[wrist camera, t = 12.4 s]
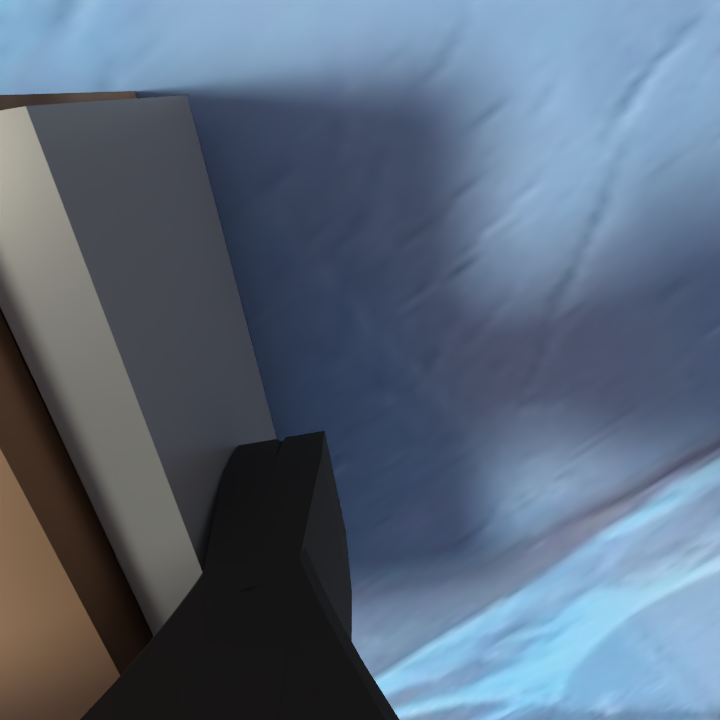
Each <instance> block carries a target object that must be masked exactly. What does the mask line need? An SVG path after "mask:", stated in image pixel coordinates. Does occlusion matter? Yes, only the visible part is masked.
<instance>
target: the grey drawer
mask: <svg viewBox="0 0 720 720" xmlns="http://www.w3.org/2000/svg"><path fill="white" fill-rule="evenodd" d="M0 312H1V314H2V316H3V318H4V321H5V323H6V325H7V327H8V329H9V331H10V333H11V336H12V338H13V340H14V342H15V344H16V346H17V348H18V351H19V353H20V355H21V357H22V359H23V361H24V363H25V366H26V368H27V370H28V372H29V374H30V376H32V377H33V378H34V380H35V383H36V385H37V387H38V389H39V391H40V393H41V395H42V398H43V400H44V402H45V404H46V406H47V408H48V411H49V413H50V415H51V417H52V419H53V421H54V423H55V426H56V428H57V430H58V432H59V434H60V436H61V438H62V441H63V443H64V445H65V447H66V449H67V451H68V454H69V456H70V458H71V460H72V462H73V464H74V466H75V469H76V471H77V473H78V475H79V477H80V479H81V481H82V484H83V486H84V488H85V490H86V492H87V494H88V497H89V499H90V501H91V503H92V505H93V507H94V509H95V512H96V514H97V516H98V518H99V520H100V522H101V524H102V527H103V529H104V531H105V533H106V535H107V537H108V540H109V542H110V544H111V546H112V548H113V550H114V552H115V555H116V560H117V563H118V565H119V567H120V569H121V571H122V573H123V575H124V578H125V580H126V582H127V584H128V586H129V588H130V590H131V593H132V595H133V597H134V599H135V601H136V603H137V605H138V608H139V610H140V612H141V614H142V616H143V618H144V620H145V623H146V625H147V627H148V629H149V631H150V633H151V635H152V638H153V637H154V636H155V635H156V633H157V632H158V631H159V630H160V629H161V627H162V626H163V625H164V624H165V622H166V621H167V620H168V619H169V617H170V616H171V615H172V613H173V612H174V611H175V610H176V608H177V607H178V606H179V604H180V603H181V602H182V600H183V599H184V598H185V596H186V595H187V594H188V592H189V591H190V590H191V588H192V587H193V586H194V584H195V583H196V581H197V580H198V578H199V577H200V575H201V574H202V573H203V571H204V566H205V561H206V556H207V551H208V546H209V541H210V536H211V531H212V525H213V520H214V515H215V510H216V505H217V500H218V495H219V490H220V486H221V481H222V477H223V472H224V470H225V468H226V466H227V464H228V461H229V459H230V457H231V456H232V454H233V452H234V451H235V449H236V448H237V446H238V445H244V444H250V443H256V442H262V441H268V440H273V439H277V438H276V434H275V430H274V426H273V422H272V418H271V415H270V411H269V407H268V403H267V399H266V395H265V392H264V388H263V384H262V380H261V376H260V372H259V369H258V365H257V361H256V357H255V353H254V349H253V346H252V342H251V338H250V334H249V330H248V326H247V323H246V319H245V315H244V311H243V307H242V303H241V300H240V296H239V292H238V288H237V284H236V280H235V277H234V273H233V269H232V265H231V261H230V258H229V254H228V250H227V246H226V242H225V238H224V235H223V231H222V227H221V223H220V219H219V215H218V212H217V208H216V204H215V200H214V196H213V192H212V189H211V185H210V181H209V177H208V173H207V169H206V166H205V162H204V158H203V154H202V150H201V146H200V143H199V139H198V135H197V131H196V127H195V123H194V120H193V116H192V112H191V108H190V104H189V100H188V97H187V95H176V96H162V97H148V98H134V99H120V100H106V101H92V102H77V103H63V104H49V105H35V106H24V107H18V108H12V109H6V110H0Z"/></svg>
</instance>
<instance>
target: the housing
mask: <svg viewBox="0 0 720 720" xmlns="http://www.w3.org/2000/svg"><path fill="white" fill-rule="evenodd" d="M134 98H137V97H136V94H135V91H127V92H94V93H61V94H28V95H0V110H6V109H12V108H18V107H24V106H35V105H49V104H63V103H77V102H92V101H106V100H120V99H134ZM151 640H152V635H151V633H150V631H149V629H148V627H147V625H146V623H145V620H144V618H143V616H142V614H141V612H140V610H139V608H138V605H137V603H136V601H135V599H134V597H133V595H132V593H131V590H130V588H129V586H128V584H127V582H126V580H125V578H124V575H123V573H122V571H121V569H120V567H119V565H118V563H117V560H116V558H115V556H114V554H113V552H112V550H111V548H110V545H109V543H108V541H107V539H106V537H105V535H104V533H103V530H102V528H101V526H100V524H99V522H98V520H97V518H96V515H95V513H94V511H93V509H92V507H91V505H90V503H89V500H88V498H87V496H86V494H85V492H84V490H83V488H82V485H81V483H80V481H79V479H78V477H77V475H76V473H75V471H74V468H73V466H72V464H71V462H70V460H69V458H68V456H67V453H66V451H65V449H64V447H63V445H62V443H61V441H60V438H59V436H58V434H57V432H56V430H55V428H54V426H53V423H52V421H51V419H50V417H49V415H48V413H47V411H46V408H45V406H44V404H43V402H42V400H41V398H40V396H39V393H38V391H37V389H36V387H35V385H34V383H33V381H32V378H31V376H30V374H29V372H28V370H27V368H26V366H25V363H24V361H23V359H22V357H21V355H20V353H19V351H18V348H17V346H16V344H15V342H14V340H13V338H12V336H11V333H10V331H9V329H8V327H7V325H6V323H5V321H4V318H3V316H2V314H1V312H0V720H80V719H81V718H82V717H83V716H84V715H85V714H86V713H87V712H88V710H89V709H90V708H91V707H92V706H93V705H94V704H95V703H96V702H97V701H98V700H99V699H100V698H101V697H102V695H103V694H104V693H105V692H106V691H107V690H108V689H109V688H110V687H111V686H112V685H113V684H114V683H115V681H116V680H117V679H118V678H119V677H120V676H121V675H122V674H123V672H124V671H125V670H126V669H127V668H128V667H129V666H130V665H131V664H132V662H133V661H134V660H135V659H136V658H137V656H138V655H139V654H140V653H141V652H142V651H143V649H144V648H145V647H146V646H147V644H148V643H149V642H150V641H151Z"/></svg>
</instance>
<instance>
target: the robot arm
mask: <svg viewBox="0 0 720 720" xmlns="http://www.w3.org/2000/svg"><path fill="white" fill-rule="evenodd" d="M351 633H352V590H351V579H350V569H349V559H348V550H347V540H346V531H345V526H344V521H343V517H342V512H341V507H340V502H339V498H338V493H337V488H336V484H335V479H334V474H333V469H332V465H331V460H330V455H329V451H328V446H327V441H326V436H325V432H324V431H321V432H315V433H309V434H303V435H297V436H291V437H286V438H285V439H284V440H283V442H281V441H279V440H278V439H273V440H268V441H262V442H256V443H250V444H244V445H238V446H237V448H236V449H235V451H234V452H233V454H232V456H231V457H230V459H229V461H228V464H227V466H226V468H225V470H224V472H223V477H222V481H221V486H220V490H219V495H218V500H217V505H216V510H215V515H214V520H213V525H212V531H211V536H210V541H209V546H208V551H207V556H206V561H205V566H204V571H203V573H202V574H201V575H200V577H199V578H198V580H197V581H196V583H195V584H194V586H193V587H192V588H191V590H190V591H189V592H188V594H187V595H186V596H185V598H184V599H183V600H182V602H181V603H180V604H179V606H178V607H177V608H176V610H175V611H174V612H173V613H172V615H171V616H170V617H169V619H168V620H167V621H166V622H165V624H164V625H163V626H162V627H161V629H160V630H159V631H158V632H157V633H156V635H155V636H154V637H153V638H152V640H151V641H150V642H149V643H148V644H147V646H146V647H145V648H144V649H143V651H142V652H141V653H140V654H139V655H138V656H137V658H136V659H135V660H134V661H133V662H132V664H131V665H130V666H129V667H128V668H127V669H126V670H125V671H124V672H123V674H122V675H121V676H120V677H119V678H118V679H117V680H116V681H115V683H114V684H113V685H112V686H111V687H110V688H109V689H108V690H107V691H106V692H105V693H104V694H103V695H102V697H101V698H100V699H99V700H98V701H97V702H96V703H95V704H94V705H93V706H92V707H91V708H90V709H89V710H88V712H87V713H86V714H85V715H84V716H83V717H82V718H81V719H80V720H399V718H398V717H397V715H396V714H395V712H394V710H393V709H392V707H391V706H390V704H389V703H388V701H387V699H386V698H385V696H384V695H383V693H382V692H381V690H380V688H379V687H378V685H377V684H376V682H375V680H374V679H373V677H372V676H371V674H370V673H369V671H368V669H367V668H366V666H365V665H364V663H363V661H362V659H361V658H360V656H359V654H358V652H357V651H356V649H355V647H354V645H353V643H352V642H351Z"/></svg>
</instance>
